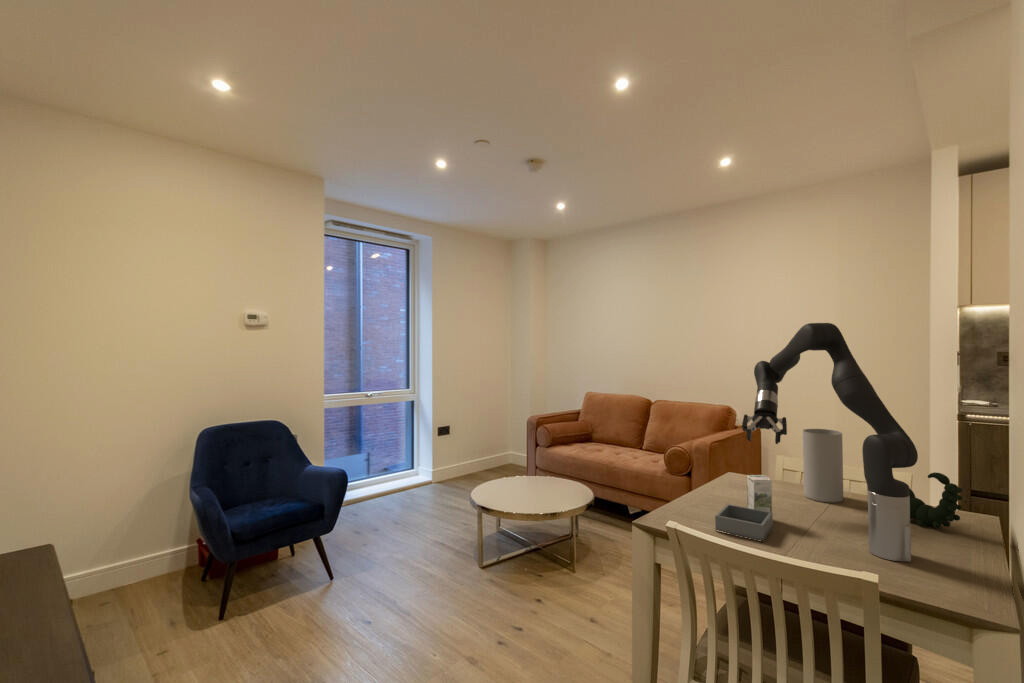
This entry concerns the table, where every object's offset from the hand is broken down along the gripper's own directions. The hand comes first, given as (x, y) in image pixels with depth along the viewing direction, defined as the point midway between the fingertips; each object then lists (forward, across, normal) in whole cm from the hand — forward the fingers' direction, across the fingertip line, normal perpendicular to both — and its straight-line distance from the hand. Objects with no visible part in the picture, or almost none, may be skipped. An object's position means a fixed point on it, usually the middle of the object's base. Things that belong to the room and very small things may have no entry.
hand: (762, 441), depth 169 cm
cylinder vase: (0, +17, +35) cm, 39 cm away
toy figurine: (+8, +42, +26) cm, 50 cm away
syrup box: (+26, 0, +9) cm, 27 cm away
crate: (+34, -3, 0) cm, 34 cm away
